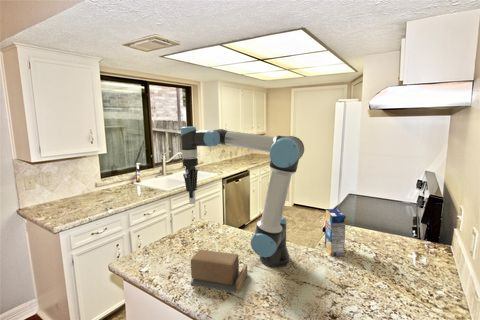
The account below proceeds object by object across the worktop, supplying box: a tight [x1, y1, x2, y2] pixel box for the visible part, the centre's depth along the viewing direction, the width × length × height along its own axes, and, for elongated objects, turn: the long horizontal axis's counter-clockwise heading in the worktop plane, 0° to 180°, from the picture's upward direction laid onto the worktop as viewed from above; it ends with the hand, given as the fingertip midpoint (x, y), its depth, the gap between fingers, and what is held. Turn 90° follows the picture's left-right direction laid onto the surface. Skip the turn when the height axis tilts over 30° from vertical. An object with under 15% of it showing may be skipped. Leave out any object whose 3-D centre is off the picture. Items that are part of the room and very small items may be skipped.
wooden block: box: [190, 249, 240, 285], centre depth 119 cm, size 10×10×20 cm
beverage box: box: [324, 208, 347, 257], centre depth 141 cm, size 7×11×22 cm, turn 179°
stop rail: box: [236, 263, 248, 293], centre depth 116 cm, size 1×14×5 cm, turn 164°
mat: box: [190, 270, 241, 293], centre depth 119 cm, size 21×14×1 cm, turn 74°
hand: (192, 203), depth 134 cm, fingers closed
